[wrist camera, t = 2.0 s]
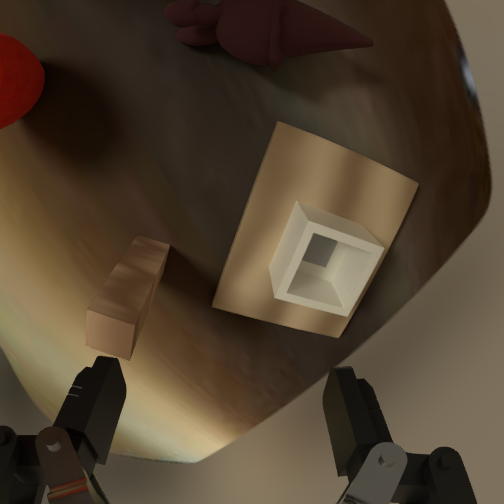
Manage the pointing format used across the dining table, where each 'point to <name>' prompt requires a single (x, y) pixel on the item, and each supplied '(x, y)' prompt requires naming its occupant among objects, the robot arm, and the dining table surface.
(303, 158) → the wooden board
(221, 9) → the icecream
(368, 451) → the robot arm
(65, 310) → the dining table surface
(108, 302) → the square wooden post
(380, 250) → the white square box
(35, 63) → the apple
